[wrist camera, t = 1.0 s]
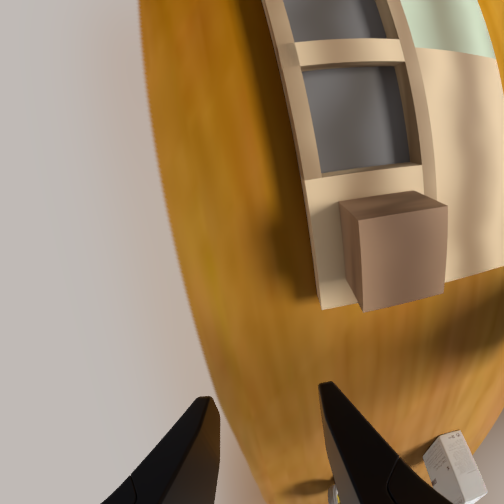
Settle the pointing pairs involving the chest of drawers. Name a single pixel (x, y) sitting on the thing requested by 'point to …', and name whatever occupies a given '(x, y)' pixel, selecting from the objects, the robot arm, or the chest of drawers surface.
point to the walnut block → (394, 248)
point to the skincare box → (454, 469)
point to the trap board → (393, 120)
